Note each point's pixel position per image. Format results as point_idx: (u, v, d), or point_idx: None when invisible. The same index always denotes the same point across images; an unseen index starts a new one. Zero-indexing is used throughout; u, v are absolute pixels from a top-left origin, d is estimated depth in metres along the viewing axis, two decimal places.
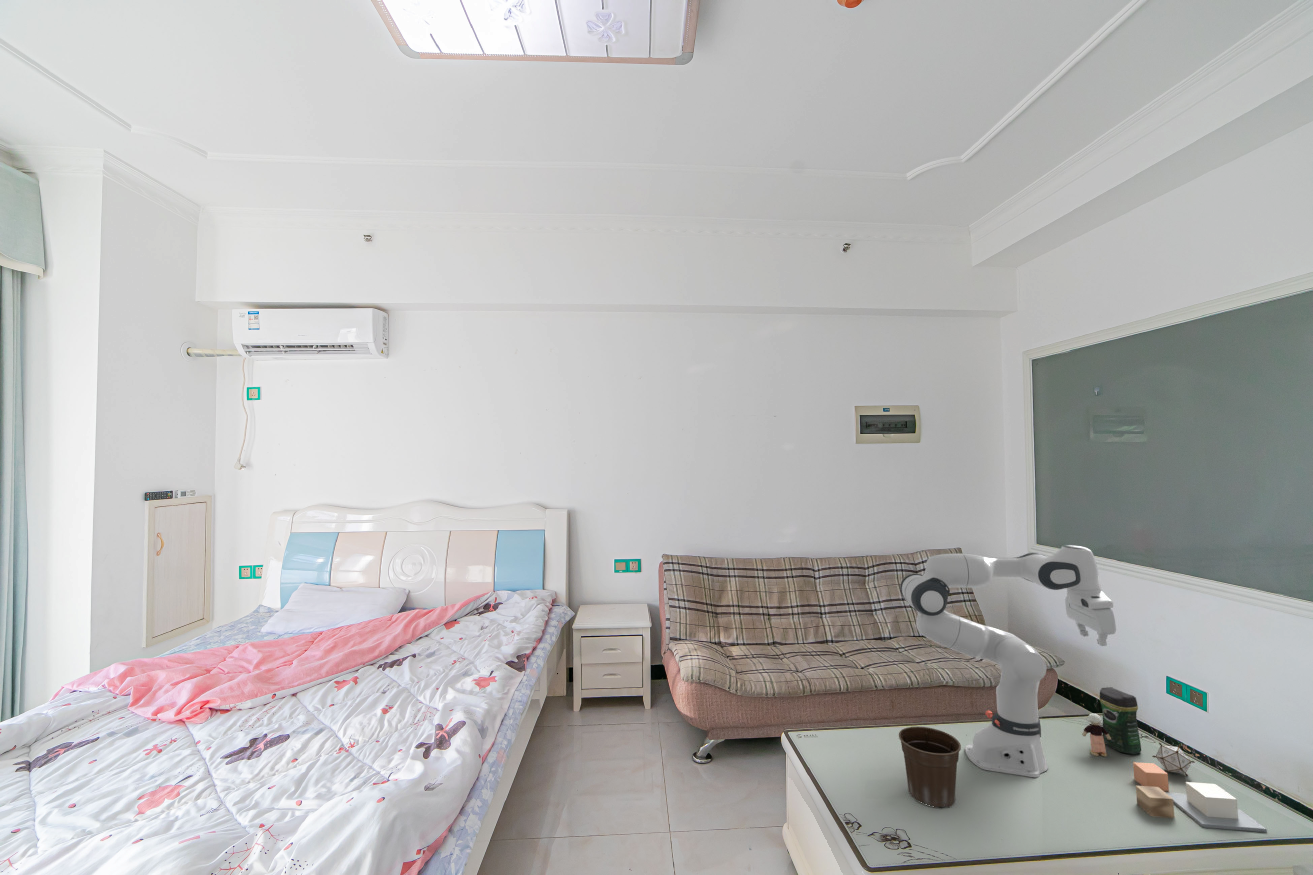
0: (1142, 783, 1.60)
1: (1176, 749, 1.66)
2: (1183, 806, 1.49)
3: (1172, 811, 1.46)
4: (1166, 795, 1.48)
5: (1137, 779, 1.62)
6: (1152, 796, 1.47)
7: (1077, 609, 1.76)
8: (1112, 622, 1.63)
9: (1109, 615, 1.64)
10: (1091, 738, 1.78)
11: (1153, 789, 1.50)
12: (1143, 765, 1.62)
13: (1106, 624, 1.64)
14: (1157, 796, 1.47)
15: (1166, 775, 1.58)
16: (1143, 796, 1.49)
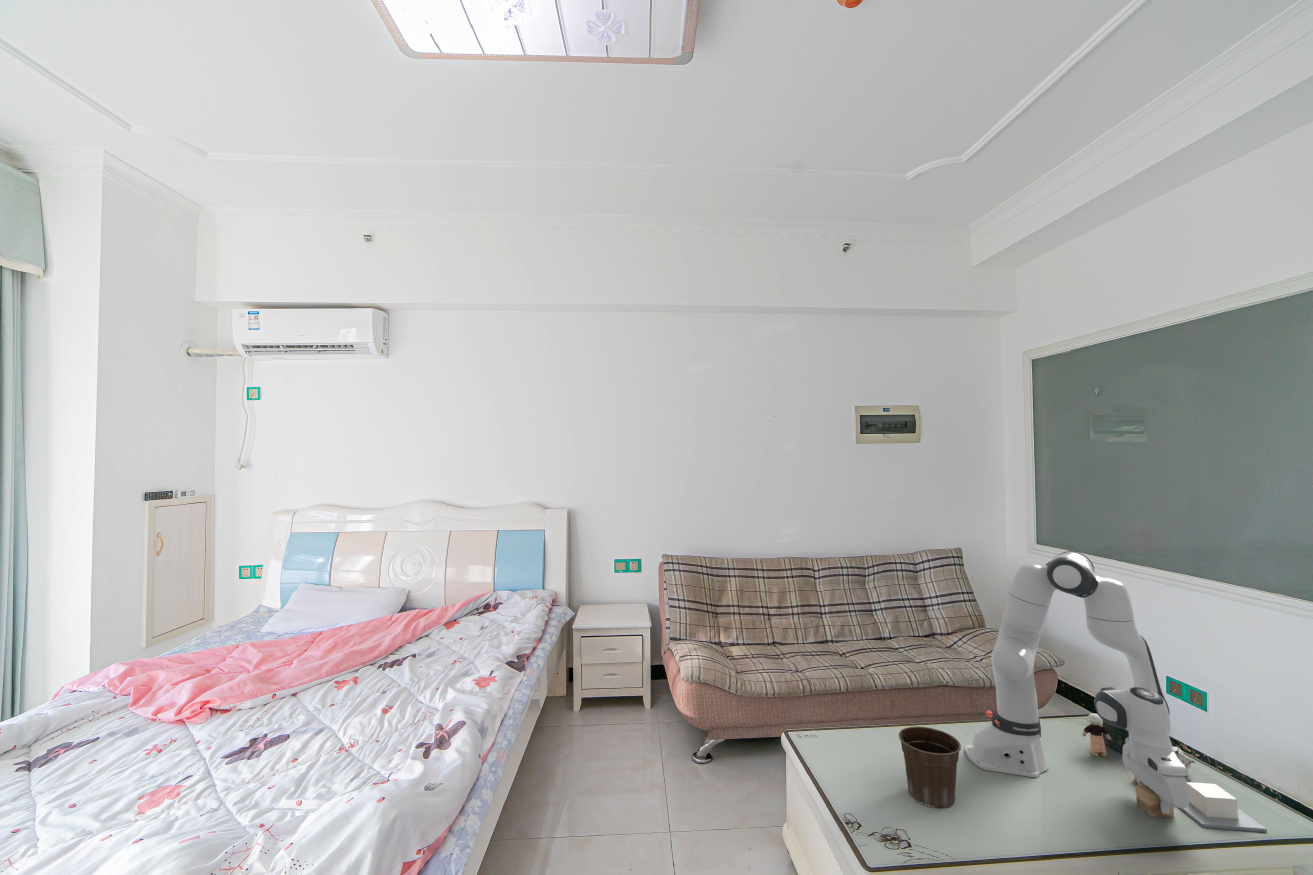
0: None
1: (1176, 749, 1.66)
2: None
3: (1172, 810, 1.46)
4: None
5: None
6: (1152, 796, 1.47)
7: (1139, 764, 1.53)
8: (1185, 794, 1.40)
9: (1182, 785, 1.40)
10: (1091, 738, 1.78)
11: None
12: None
13: (1177, 796, 1.40)
14: (1157, 795, 1.47)
15: None
16: (1143, 795, 1.49)
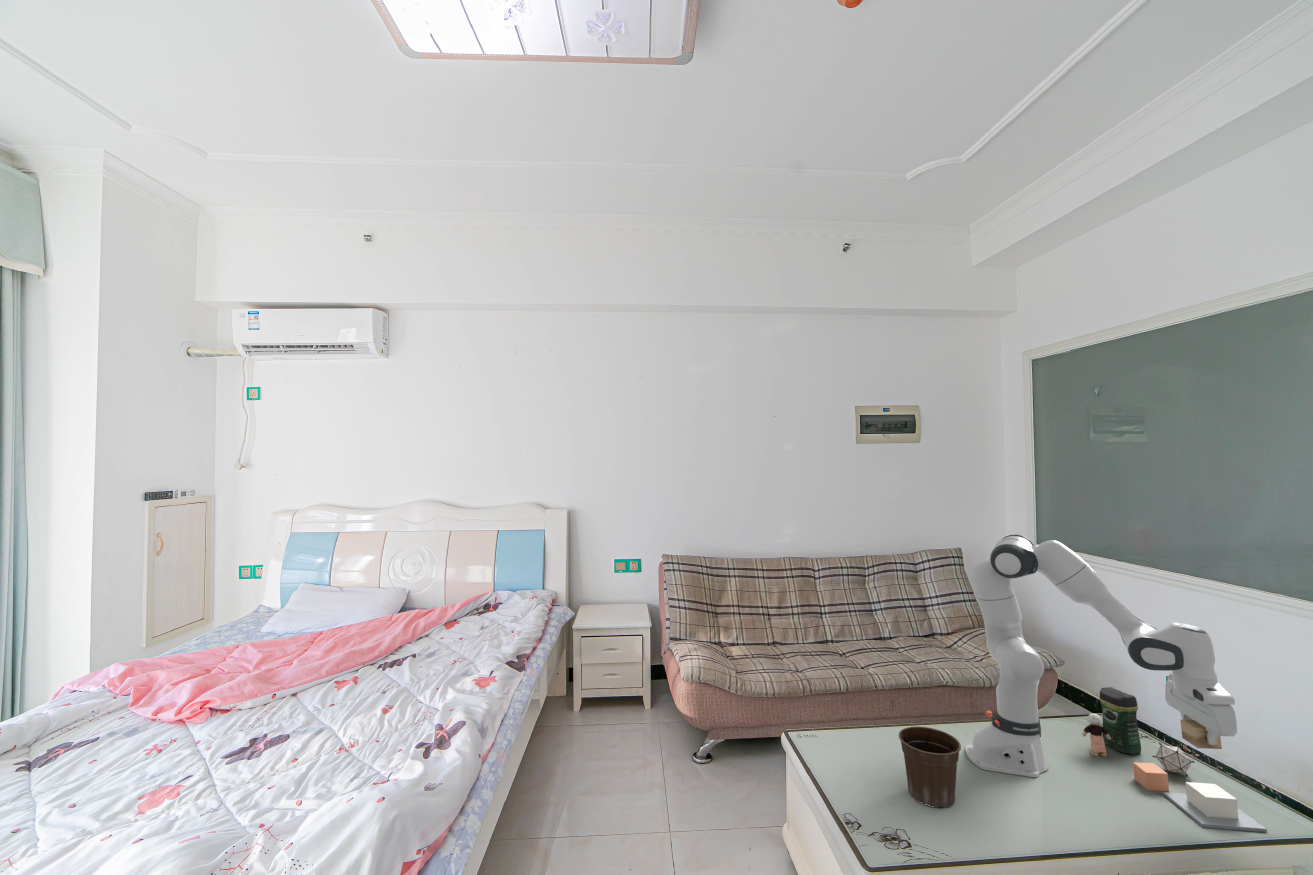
0: (1142, 783, 1.60)
1: (1176, 749, 1.66)
2: (1183, 806, 1.49)
3: (1219, 742, 1.45)
4: None
5: (1137, 779, 1.62)
6: (1198, 728, 1.46)
7: (1183, 698, 1.52)
8: (1233, 722, 1.39)
9: (1229, 714, 1.39)
10: (1091, 738, 1.78)
11: None
12: (1143, 765, 1.62)
13: (1225, 724, 1.39)
14: (1203, 728, 1.46)
15: (1166, 775, 1.58)
16: (1189, 728, 1.49)
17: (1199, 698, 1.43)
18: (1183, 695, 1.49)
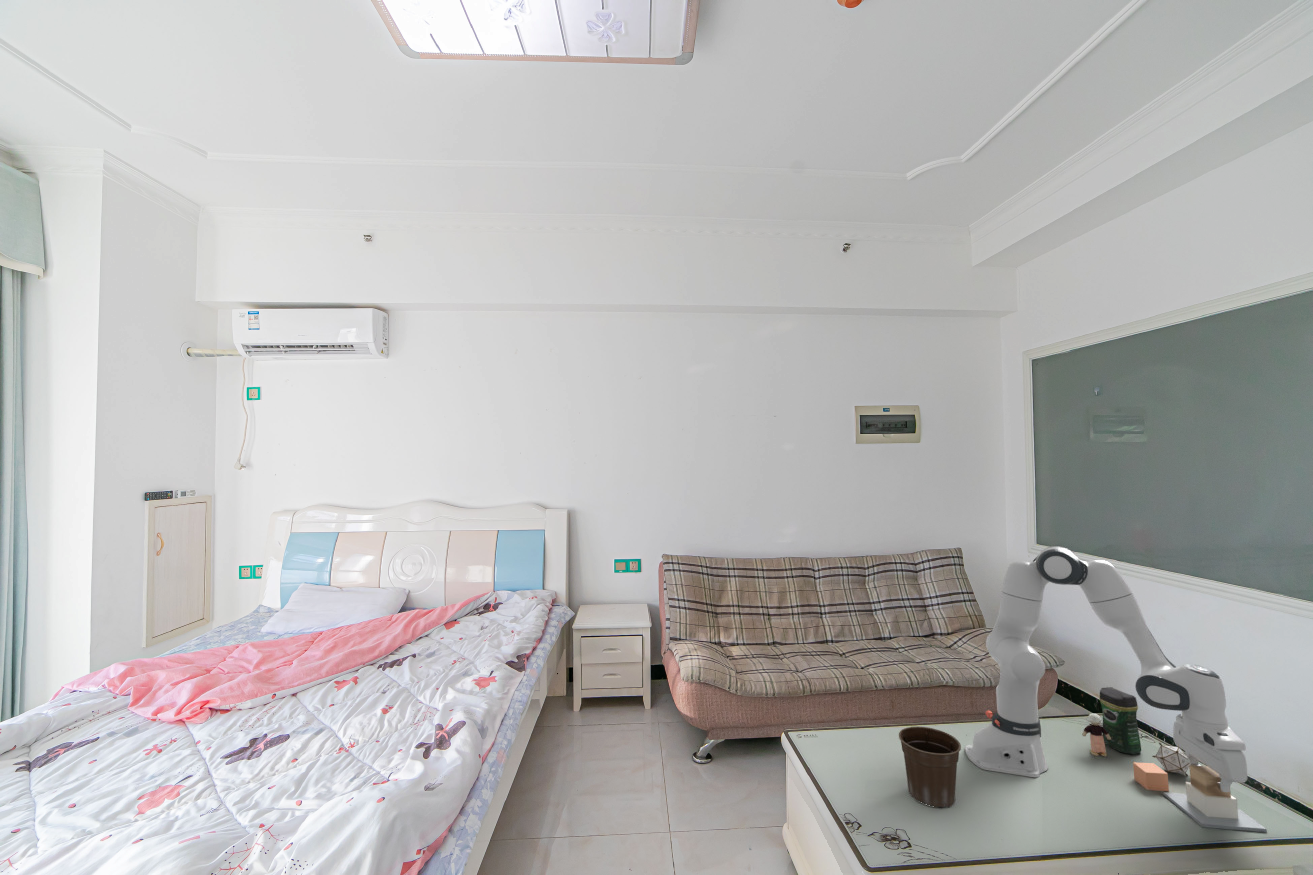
0: (1142, 783, 1.60)
1: (1176, 749, 1.66)
2: (1183, 806, 1.49)
3: None
4: None
5: (1137, 779, 1.62)
6: (1208, 775, 1.46)
7: (1192, 740, 1.51)
8: (1243, 769, 1.38)
9: (1240, 760, 1.39)
10: (1091, 738, 1.78)
11: (1207, 769, 1.49)
12: (1143, 765, 1.62)
13: (1235, 770, 1.39)
14: (1213, 775, 1.46)
15: (1166, 775, 1.58)
16: (1198, 775, 1.48)
17: (1210, 742, 1.43)
18: (1193, 738, 1.49)
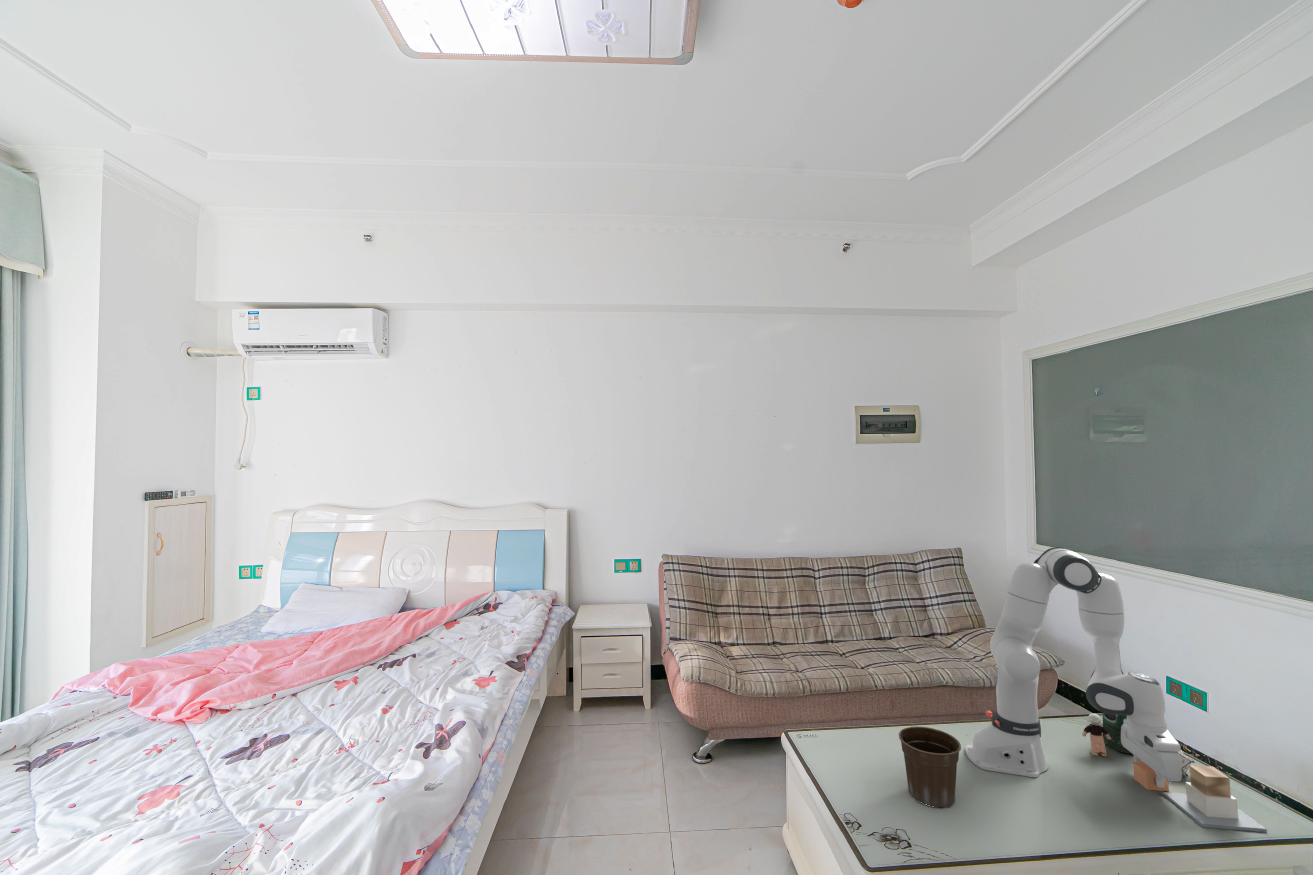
0: (1142, 782, 1.60)
1: None
2: (1183, 806, 1.49)
3: (1228, 790, 1.45)
4: (1222, 774, 1.46)
5: (1137, 778, 1.62)
6: (1208, 775, 1.46)
7: (1136, 742, 1.64)
8: (1178, 768, 1.51)
9: (1176, 760, 1.52)
10: (1091, 738, 1.78)
11: (1207, 769, 1.49)
12: (1143, 764, 1.62)
13: (1171, 770, 1.51)
14: (1213, 775, 1.46)
15: None
16: (1198, 775, 1.48)
17: (1149, 744, 1.56)
18: (1136, 740, 1.62)
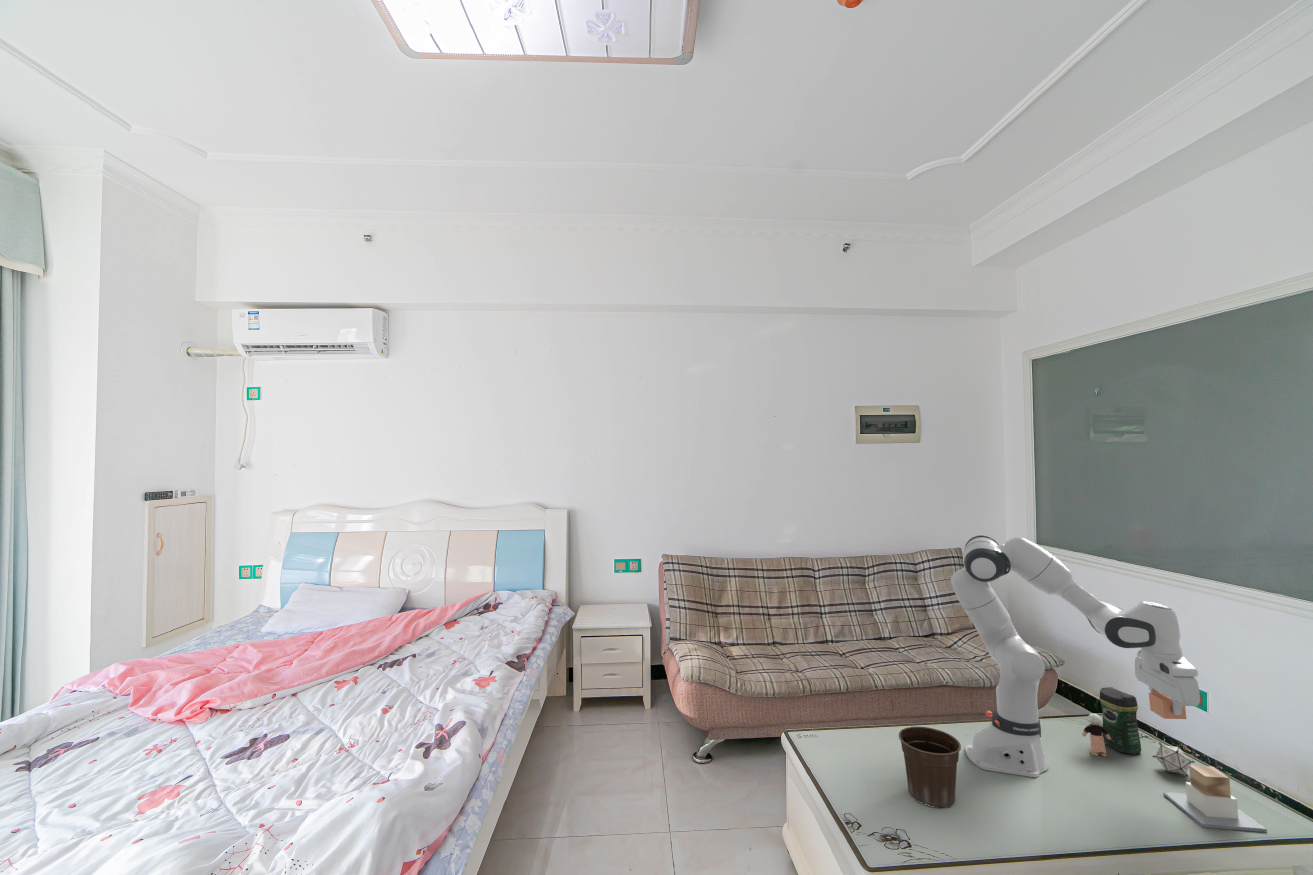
0: (1159, 712, 1.56)
1: (1176, 749, 1.66)
2: (1183, 806, 1.49)
3: (1228, 790, 1.45)
4: (1222, 774, 1.46)
5: (1153, 709, 1.59)
6: (1208, 775, 1.46)
7: (1150, 672, 1.60)
8: (1196, 693, 1.47)
9: (1193, 685, 1.48)
10: (1091, 738, 1.78)
11: (1207, 769, 1.49)
12: (1159, 694, 1.58)
13: (1189, 694, 1.48)
14: (1213, 775, 1.46)
15: None
16: (1198, 775, 1.48)
17: (1165, 671, 1.52)
18: (1151, 669, 1.58)
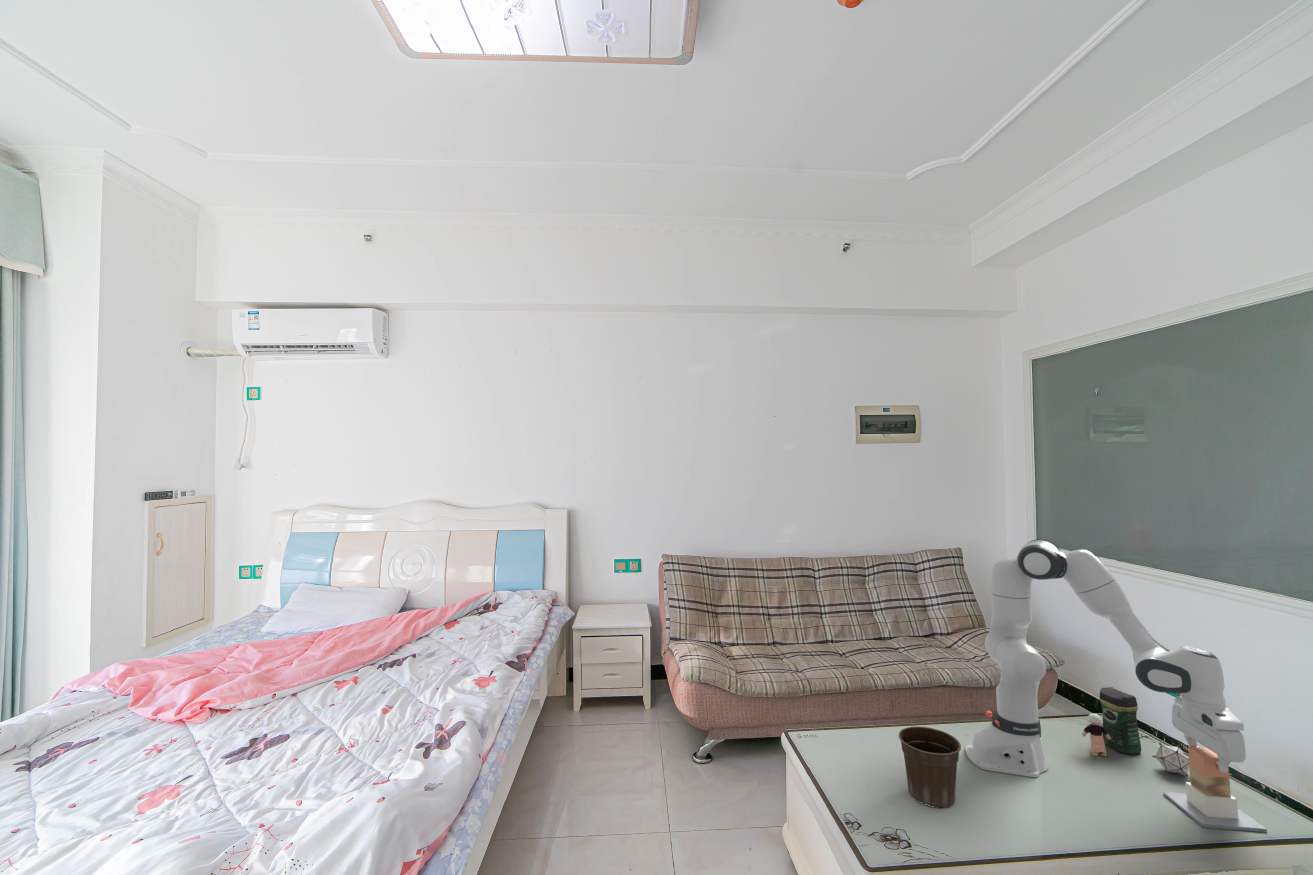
0: (1199, 769, 1.48)
1: (1176, 749, 1.66)
2: (1183, 806, 1.49)
3: (1228, 790, 1.45)
4: None
5: (1193, 765, 1.50)
6: None
7: (1190, 722, 1.52)
8: (1242, 748, 1.39)
9: (1238, 740, 1.39)
10: (1091, 738, 1.78)
11: None
12: (1199, 749, 1.50)
13: (1234, 750, 1.39)
14: None
15: None
16: (1198, 775, 1.48)
17: (1208, 723, 1.43)
18: (1191, 719, 1.49)
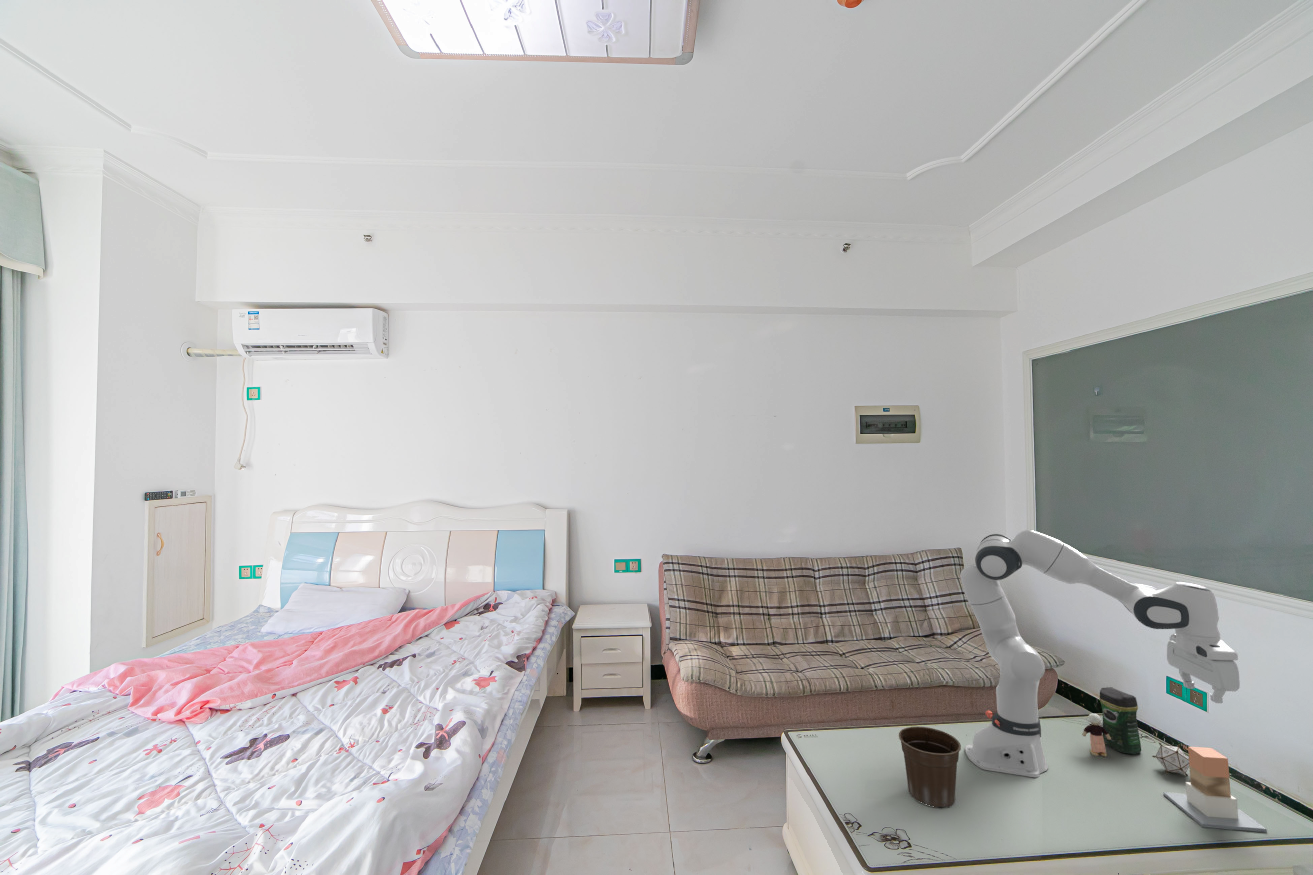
0: (1199, 769, 1.48)
1: (1176, 749, 1.66)
2: (1183, 806, 1.49)
3: (1228, 790, 1.45)
4: None
5: (1193, 765, 1.50)
6: None
7: (1185, 657, 1.53)
8: (1236, 677, 1.40)
9: (1233, 669, 1.40)
10: (1091, 738, 1.78)
11: None
12: (1199, 749, 1.50)
13: (1228, 679, 1.40)
14: None
15: (1226, 760, 1.45)
16: (1198, 775, 1.48)
17: (1202, 654, 1.44)
18: (1186, 653, 1.50)
